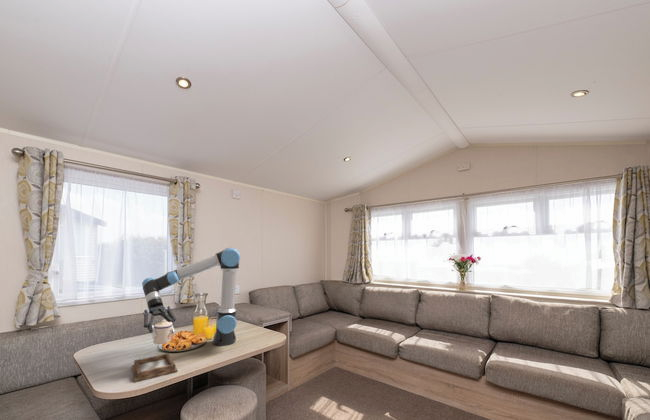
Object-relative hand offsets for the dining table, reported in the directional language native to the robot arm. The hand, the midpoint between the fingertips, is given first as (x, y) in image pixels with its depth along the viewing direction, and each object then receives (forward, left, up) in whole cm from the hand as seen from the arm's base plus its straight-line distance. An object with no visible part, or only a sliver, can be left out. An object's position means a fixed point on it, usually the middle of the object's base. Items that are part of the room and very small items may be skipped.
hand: (164, 334), depth 161 cm
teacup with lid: (0, -3, -4) cm, 5 cm away
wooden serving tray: (+4, -2, -18) cm, 18 cm away
